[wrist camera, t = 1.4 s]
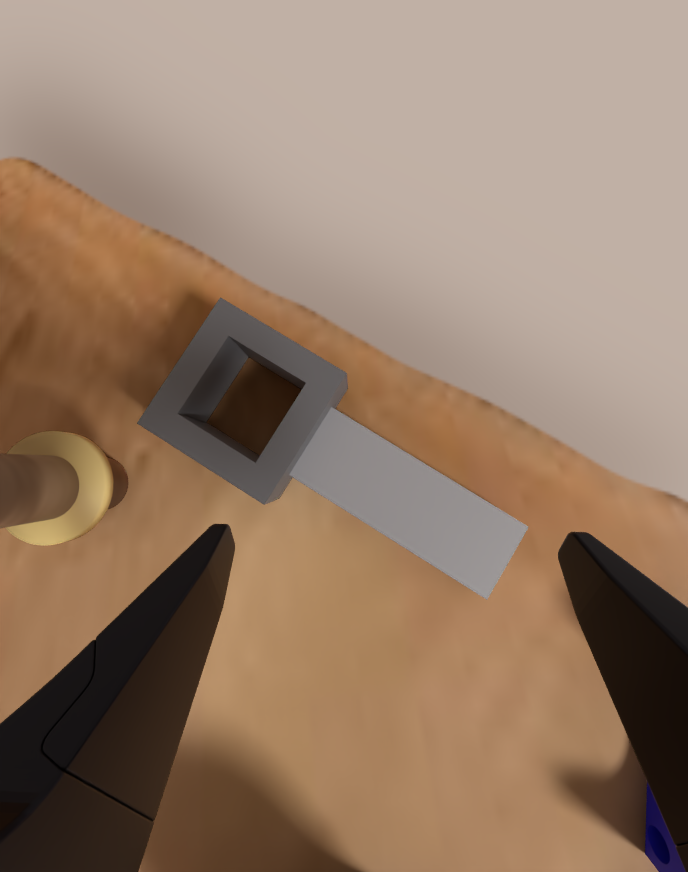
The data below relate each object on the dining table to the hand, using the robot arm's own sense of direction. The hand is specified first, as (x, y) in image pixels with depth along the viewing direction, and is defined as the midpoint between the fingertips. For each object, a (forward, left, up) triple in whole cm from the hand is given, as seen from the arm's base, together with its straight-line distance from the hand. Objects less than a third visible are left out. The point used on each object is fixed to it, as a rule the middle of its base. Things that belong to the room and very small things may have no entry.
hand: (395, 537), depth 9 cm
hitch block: (+1, +2, -14) cm, 14 cm away
